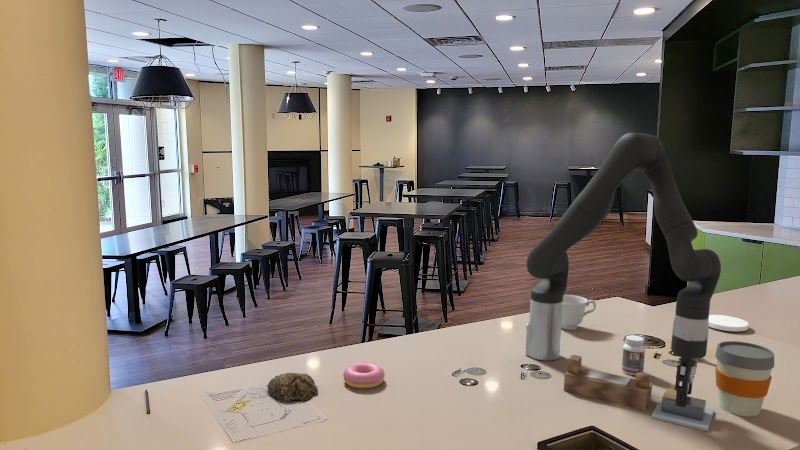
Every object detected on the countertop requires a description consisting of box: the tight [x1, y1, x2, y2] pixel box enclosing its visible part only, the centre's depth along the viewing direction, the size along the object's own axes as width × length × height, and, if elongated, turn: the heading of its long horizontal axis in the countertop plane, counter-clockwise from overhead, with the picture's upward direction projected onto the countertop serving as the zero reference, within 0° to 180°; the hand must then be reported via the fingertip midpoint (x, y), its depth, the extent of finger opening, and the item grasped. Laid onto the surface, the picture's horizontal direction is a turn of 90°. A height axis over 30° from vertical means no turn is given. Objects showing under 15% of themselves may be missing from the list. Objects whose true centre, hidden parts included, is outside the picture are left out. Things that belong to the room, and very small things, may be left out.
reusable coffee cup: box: [714, 340, 775, 417], centre depth 150 cm, size 12×13×15 cm
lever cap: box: [661, 388, 707, 421], centre depth 147 cm, size 9×5×4 cm, turn 58°
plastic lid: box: [709, 314, 749, 332], centre depth 216 cm, size 14×14×2 cm
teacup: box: [561, 294, 597, 331], centre depth 211 cm, size 12×15×10 cm
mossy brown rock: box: [267, 372, 319, 403], centre depth 156 cm, size 13×12×5 cm
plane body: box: [563, 354, 653, 411], centre depth 157 cm, size 20×7×8 cm, turn 58°
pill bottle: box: [621, 335, 646, 376], centre depth 172 cm, size 6×6×10 cm
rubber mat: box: [650, 397, 715, 432], centre depth 147 cm, size 12×12×1 cm
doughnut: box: [342, 361, 385, 390], centre depth 163 cm, size 11×11×4 cm
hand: (683, 399), depth 147 cm, fingers open, 8 cm apart
